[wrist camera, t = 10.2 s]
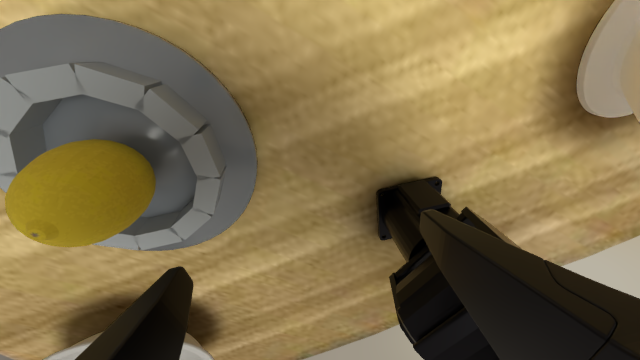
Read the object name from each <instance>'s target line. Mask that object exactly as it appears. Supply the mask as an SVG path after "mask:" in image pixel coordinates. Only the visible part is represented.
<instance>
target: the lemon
mask: <svg viewBox="0 0 640 360" xmlns="http://www.w3.org/2000/svg"><path fill="white" fill-rule="evenodd" d="M155 186H156V178H155V174H154V171H153V168H152V167H151V165H150V163H149V162H148V161H147V160H146V158H145V157H144V156H143V155H142V154H140V153H139V152H137V151H136V150H135V149H133V148H131V147H129V146H127V145H125V144H121V143H118V142H114V141H110V140H100V139H91V140H82V141H75V142H70V143H67V144H64V145H61V146H59V147H56V148H54V149H51V150H49V151H47V152H45V153H43V154H41V155H40V156H38V157H37V158H35V159H34V160H33V161H31V162H30V163H29V164H28V165H27V166H26V167H25V168H24V169H22V170H21V171H20V172H19V173H18V174H17V175H16V176H15V178H14V179H13V180H12V182H11V184H10V186H9V188H8V190H7V193H6V196H5V207H6V213H7V215H8V217H9V219H10V221H11V223H12V224H13V225H14V226H15V227H16V229H17V230H19V231H20V232H21V233H23V234H24V235H25V236H27V237H29V238H30V239H32V240H35V241H37V242H40V243H43V244H47V245H51V246H59V247H78V246H87V245H91V244H95V243H98V242H102V241H104V240H107V239H109V238H111V237H112V236H114V235H116V234H118V233H120V232H121V231H123V230H125V229H126V228H128V227H129V226H130V225H131V224H133V223H134V222H135V221H136V220H137V219H138V218H139V217H140V216H141V215H142V214H143V213H144V212H145V210H146V209H147V208H148V206H149V204H150V202H151V200H152V198H153V195H154V193H155Z"/></svg>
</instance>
